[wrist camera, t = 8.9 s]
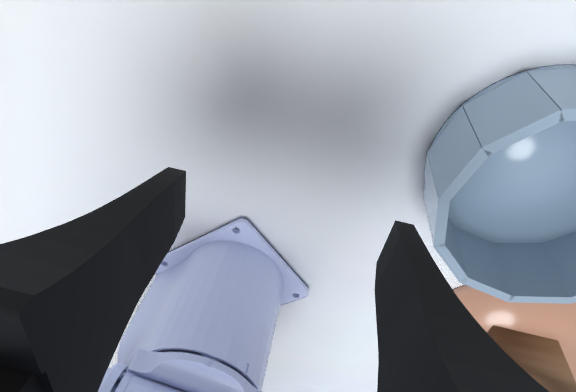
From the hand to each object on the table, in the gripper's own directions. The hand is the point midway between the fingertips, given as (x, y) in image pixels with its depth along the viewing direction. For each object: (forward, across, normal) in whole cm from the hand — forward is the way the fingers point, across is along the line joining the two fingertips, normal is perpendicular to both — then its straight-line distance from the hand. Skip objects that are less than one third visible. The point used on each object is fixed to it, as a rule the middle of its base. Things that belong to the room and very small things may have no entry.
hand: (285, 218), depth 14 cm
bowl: (+10, -12, +1) cm, 15 cm away
